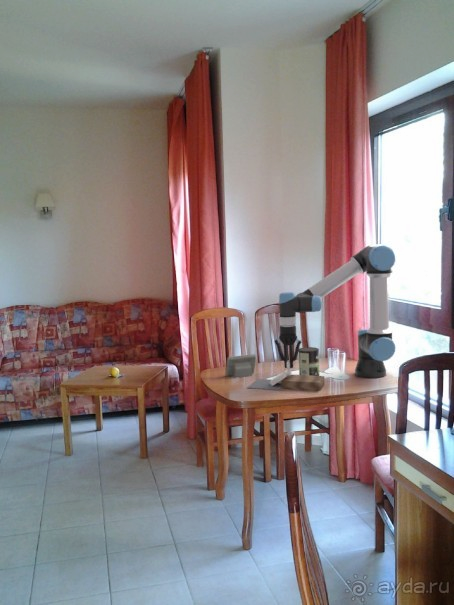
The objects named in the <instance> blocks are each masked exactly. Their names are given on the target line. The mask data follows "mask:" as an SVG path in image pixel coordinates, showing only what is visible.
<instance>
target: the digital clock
mask: <svg viewBox="0 0 454 605" xmlns="http://www.w3.org/2000/svg"><path fill="white" fill-rule="evenodd" d="M256 360H257V355H256V354H253V353H252V354H244V355H236V356H235V355H234V356H228V357H227V358H226V364H225V375H226V376H228V377H231V376H232V377H234V378H236V379H237V377H238V378H244V377H252V376H253V373H254V372H255V369H256Z"/></svg>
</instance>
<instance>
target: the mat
mask: <svg viewBox="0 0 454 605" xmlns="http://www.w3.org/2000/svg"><path fill="white" fill-rule="evenodd" d="M271 380H272V379H269V378H268V379H266V378H265V379H264V378H263V379H262V378H257V379H255V380H254V381H252V383H251V384H249V385H248V386H247V388H246V389H254V390H256V389H257V390H267V389H268V390H269V391H270V390H271V391H272V390H273V391H281V390H282V389H281V381H279V382H278V383H276V384H275V385H273V386H272V385H271V384H270V381H271Z"/></svg>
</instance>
